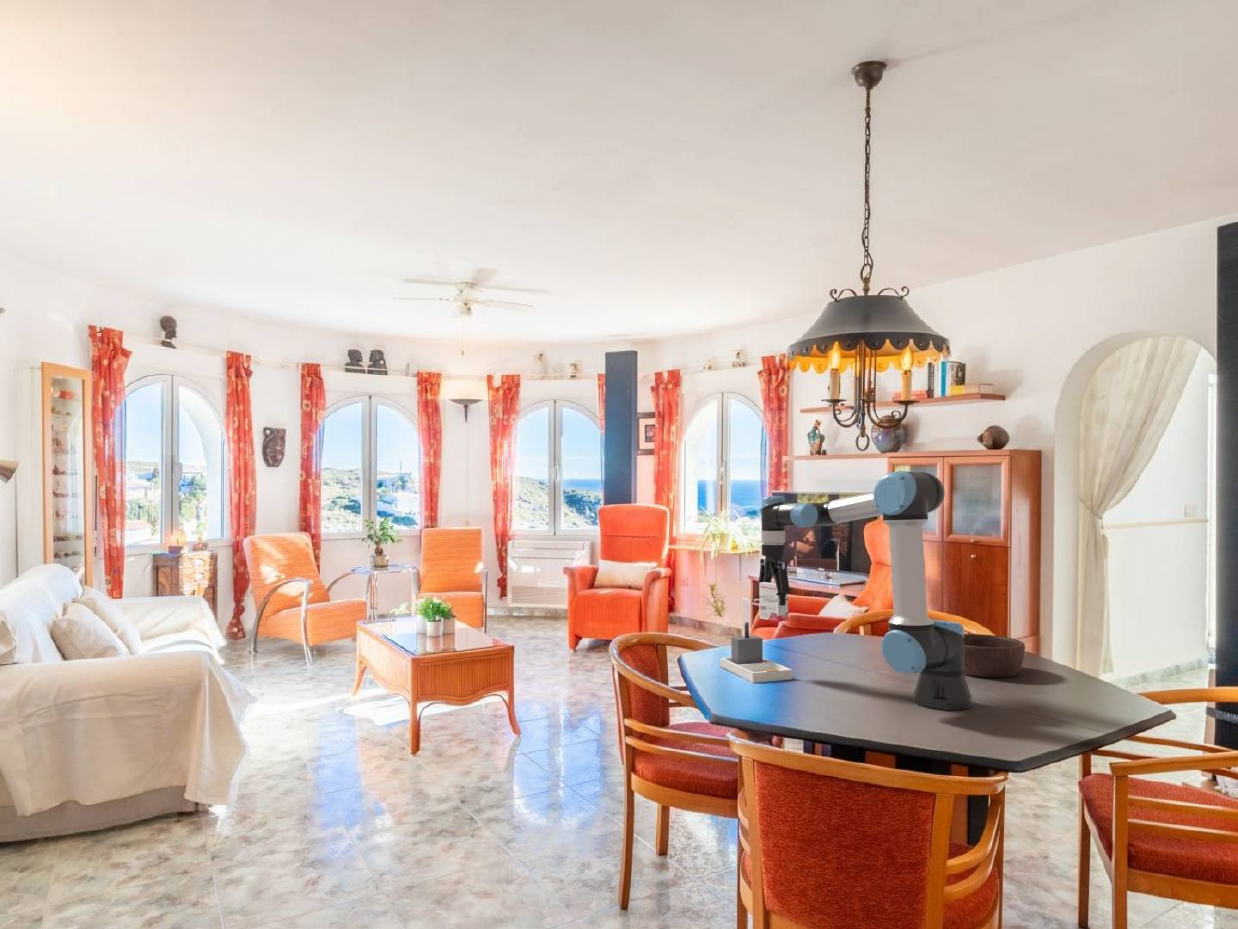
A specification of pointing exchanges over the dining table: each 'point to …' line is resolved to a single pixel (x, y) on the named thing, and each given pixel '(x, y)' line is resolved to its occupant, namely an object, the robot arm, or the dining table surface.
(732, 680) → the dining table surface
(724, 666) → the tray
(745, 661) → the grey block with handle
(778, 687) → the dining table surface
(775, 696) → the dining table surface
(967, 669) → the wooden bowl
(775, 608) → the ink box
